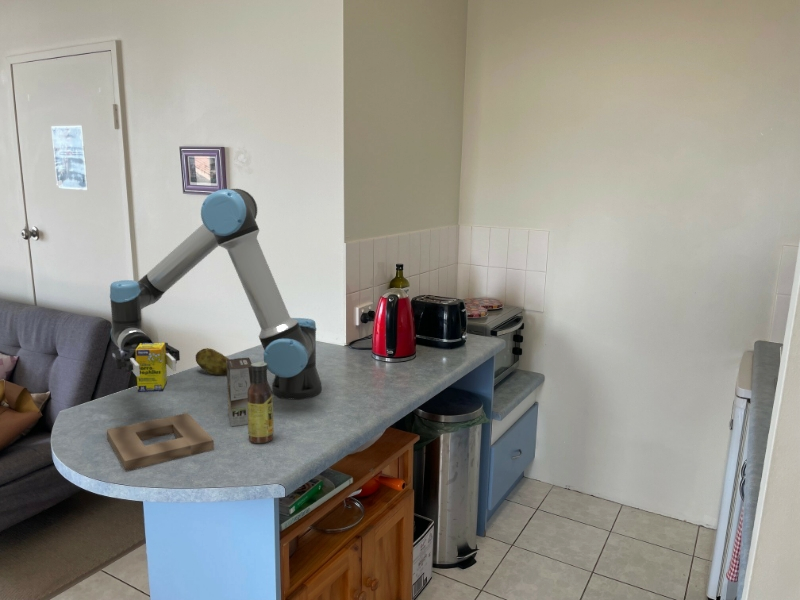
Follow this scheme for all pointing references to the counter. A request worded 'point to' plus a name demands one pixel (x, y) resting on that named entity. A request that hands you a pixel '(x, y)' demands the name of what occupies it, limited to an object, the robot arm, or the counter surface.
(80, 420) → the counter surface
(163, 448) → the socket board
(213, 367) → the potato
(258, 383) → the sauce bottle
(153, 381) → the supplement box
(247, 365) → the coffee box
